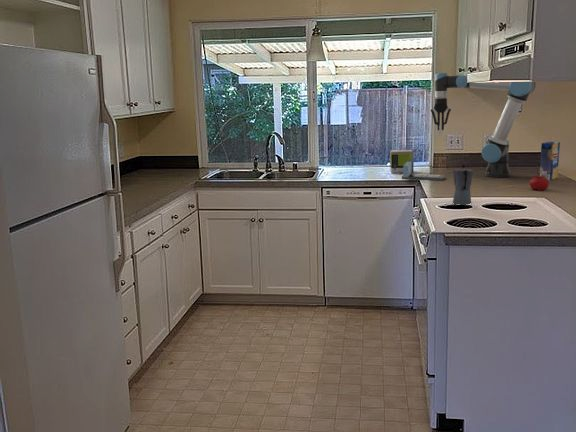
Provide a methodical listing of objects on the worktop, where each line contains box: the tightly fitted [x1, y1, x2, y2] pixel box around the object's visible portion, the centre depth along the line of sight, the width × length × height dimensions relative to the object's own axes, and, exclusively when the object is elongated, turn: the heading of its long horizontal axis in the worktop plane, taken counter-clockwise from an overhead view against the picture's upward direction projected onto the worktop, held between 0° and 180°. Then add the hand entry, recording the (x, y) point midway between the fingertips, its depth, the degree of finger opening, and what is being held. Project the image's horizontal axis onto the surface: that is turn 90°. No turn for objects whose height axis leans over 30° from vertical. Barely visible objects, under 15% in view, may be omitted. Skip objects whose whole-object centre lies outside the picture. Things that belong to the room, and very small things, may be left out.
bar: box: [402, 161, 414, 177], centre depth 381 cm, size 22×4×7 cm, turn 162°
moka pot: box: [452, 164, 474, 205], centre depth 297 cm, size 10×15×20 cm, turn 178°
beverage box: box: [539, 141, 561, 181], centre depth 371 cm, size 7×11×22 cm, turn 136°
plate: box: [401, 173, 446, 182], centre depth 384 cm, size 25×12×3 cm, turn 66°
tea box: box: [389, 149, 415, 174], centre depth 411 cm, size 15×10×15 cm, turn 84°
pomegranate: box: [529, 172, 550, 191], centre depth 336 cm, size 10×10×9 cm
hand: (440, 135), depth 390 cm, fingers closed
